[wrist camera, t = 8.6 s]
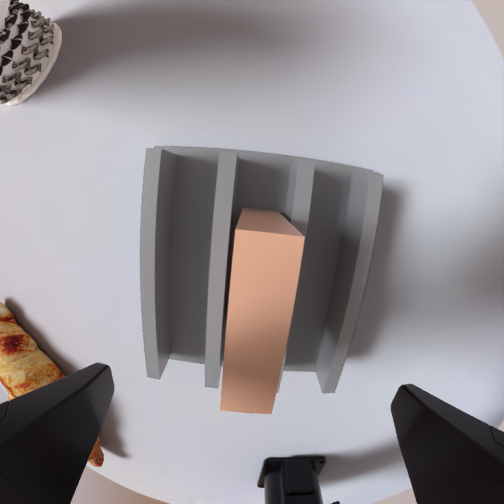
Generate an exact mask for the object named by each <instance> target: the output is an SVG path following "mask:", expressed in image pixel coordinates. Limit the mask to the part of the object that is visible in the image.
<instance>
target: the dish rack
mask: <svg viewBox="0 0 504 504" xmlns="http://www.w3.org/2000/svg"><path fill="white" fill-rule="evenodd" d="M372 171H373V170H369V169H364V168H359V167H354V166H349V165H344V164H339V163H333V162H327V161H321V160H315V159H309V158H302V157H295V156H288V155H280V154H272V153H264V152H254V151H244V150H232V149H219V148H203V147H179V146H154V148H146V155H145V165H144V176H143V189H142V205H141V228H140V287H141V311H142V326H143V339H144V350H145V360H146V369H147V377H150V378H155V379H160V378H161V375H162V373H163V371H164V368H165V366H166V364H167V362H168V359H173V360H180V361H186V362H193V363H201V364H205V387H212V388H218V386H219V379H220V372H221V366H223V364H224V351H225V338H226V326H227V314H228V303H229V291H230V280H231V269H232V259H233V249H234V238H235V229H236V226H237V223H238V220H239V218H240V215H241V212H242V209H243V208H251V209H260V210H269V211H277V212H279V213H280V214H281V215H282V216H283V217H285V218H286V219H287V220H288V221H289V222H290V223H291V224H292V225H293V226H294V227H295V228H296V229H297V230H298V231H299V232H300V233H301V234H302V235H303V236H305V239H304V246H303V253H302V259H301V265H300V272H299V278H298V284H297V290H296V296H295V301H294V307H293V312H292V318H291V323H290V329H289V334H288V339H287V344H286V349H285V354H284V359H283V364H282V369H281V373H280V378H279V383H278V387H277V392H276V393H278V392H279V387H280V382H281V378H282V373H283V371H310V372H316V374H317V377H318V381H319V384H320V387H321V390H322V393H335V390H336V387H337V384H338V381H339V379H340V376H341V373H342V370H343V366H344V363H345V360H346V357H347V354H348V351H349V347H350V344H351V340H352V337H353V334H354V330H355V326H356V323H357V319H358V315H359V311H360V307H361V303H362V299H363V295H364V291H365V286H366V282H367V277H368V272H369V268H370V263H371V258H372V252H373V247H374V241H375V235H376V229H377V223H378V216H379V209H380V202H381V194H382V185H383V175H380V174H376V173H372Z"/></svg>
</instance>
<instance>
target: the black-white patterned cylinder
mask: <svg viewBox="0 0 504 504" xmlns="http://www.w3.org/2000/svg"><path fill="white" fill-rule="evenodd" d="M18 1H19V0H0V104H4V103H5V104H7V105H9V106H13V105H16V104H19V103H22V102H23V101H25V100H26V99H27V98H28V97H29V96H31V95H32V94H33V93H34V92H35V91H36V90H37V89H38V87H39V86H40V85H41V83H42V82H43V81H44V80H45V79H46V77H47V76H48V74H49V72H50V70H51V68H52V67H53V65H54V63H55V61H56V60H57V57H58V54H59V51H60V48H61V45H62V30H61V29H60V28H59V27H58V25H57V24H56V23H50V20H51V19H50V18H47V19H45V18H44V16H41V12H40V11H38V12H36V13H35V10H30V9H29V5H28V4H23V3H19V2H18Z"/></svg>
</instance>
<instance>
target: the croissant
mask: <svg viewBox="0 0 504 504" xmlns="http://www.w3.org/2000/svg"><path fill="white" fill-rule="evenodd" d="M63 377H65V375H64V374H63V372H62V371H61V370H60V369H59V368H58V367H57V366H56V365H55V363H54V362H53V361H52V360H51V359H50V358H49V357H48V356H47V355H46V354H45V353H43V352H42V351H41V350H40V349H39V348H38V345H37V344H36V342H35V341H34V340H33V338H32V337H31V336H30V335H29V334H27V333H26V332H25V331H24V330H23V328H22V327H20V326H18V325H17V323H16V321H15V318H14V316H13V314H12V313H11V312H10V311H9V310H8V309H7V308H6V306H4V305H3V303H1V302H0V382H1V383H2V384H3V385H4V386H5V388H6V390H7V392H8V401H10V400H11V399H13V398H16V397H18V396H21V395H23V394H26V393H28V392H30V391H33V390H35V389H38V388H40V387H42V386H45V385H47V384H49V383H52V382H54V381H56V380H59V379H61V378H63ZM88 461H89V462H90V463H91V464H92V465H94V466H96V467H97V466H98V467H101V466H102V464H103V461H104V454H103V452H102V450H101V448H100V445H99V437H98V439H97V441H96V443H95V445H94V448H93V450H92V452H91V455H90V457H89V459H88Z"/></svg>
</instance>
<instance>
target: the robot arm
mask: <svg viewBox="0 0 504 504" xmlns="http://www.w3.org/2000/svg"><path fill="white" fill-rule="evenodd" d="M113 393H114V382H113V377H112V373H111V368H110V367H109V366H108V365H106V364H102V363H95V364H92V365H90V366H88V367H86V368H83V369H81V370H79V371H77V372H74V373H72V374H70V375H68V376H65V377H63V378H61V379H59V380H56V381H54V382H52V383H49V384H47V385H45V386H42V387H40V388H38V389H35V390H33V391H30V392H28V393H26V394H23V395H21V396H18V397H16V398H13V399H11V400H10V401H6V402H3V403H1V404H0V504H70V503H71V500H72V498H73V495H74V493H75V490H76V487H77V485H78V483H79V480H80V478H81V475H82V473H83V471H84V468H85V466H86V464H87V461H88V459H89V457H90V455H91V452H92V450H93V448H94V445H95V443H96V441H97V439H98V437H99V434H100V432H101V429H102V427H103V424H104V420H105V417H106V414H107V411H108V408H109V405H110V402H111V399H112V396H113ZM391 413H392V417H393V421H394V425H395V429H396V434H397V438H398V443H399V446H400V450H401V453H402V456H403V459H404V462H405V465H406V468H407V471H408V475H409V478H410V481H411V484H412V488H413V491H414V494H415V498H416V502H417V504H504V432H503V431H501V430H498V429H496V428H494V427H492V426H489V425H488V424H486V423H484V422H482V421H480V420H479V419H477V418H475V417H473V416H471V415H469V414H467V413H465V412H463V411H461V410H459V409H457V408H455V407H454V406H452V405H450V404H448V403H446V402H444V401H442V400H441V399H439V398H437V397H435V396H433V395H431V394H430V393H428V392H426V391H424V390H422V389H420V388H419V387H417V386H415V385H413V384H405V385H401V386H400V387H399V389H398V391H397V393H396V395H395V397H394V399H393V401H392V403H391ZM325 463H326V458H325V457H317V458H297V459H266V460H264V462H263V466H262V469H261V473H260V476H259V480H258V483H257V486H258V487H260V488H264V489H265V504H323V500H322V495H321V490H320V485H319V480H318V475H319V473H320V472H321V470H322V468H323V466H324V464H325ZM332 504H340V503H339V501H337V502H333V503H332Z"/></svg>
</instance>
